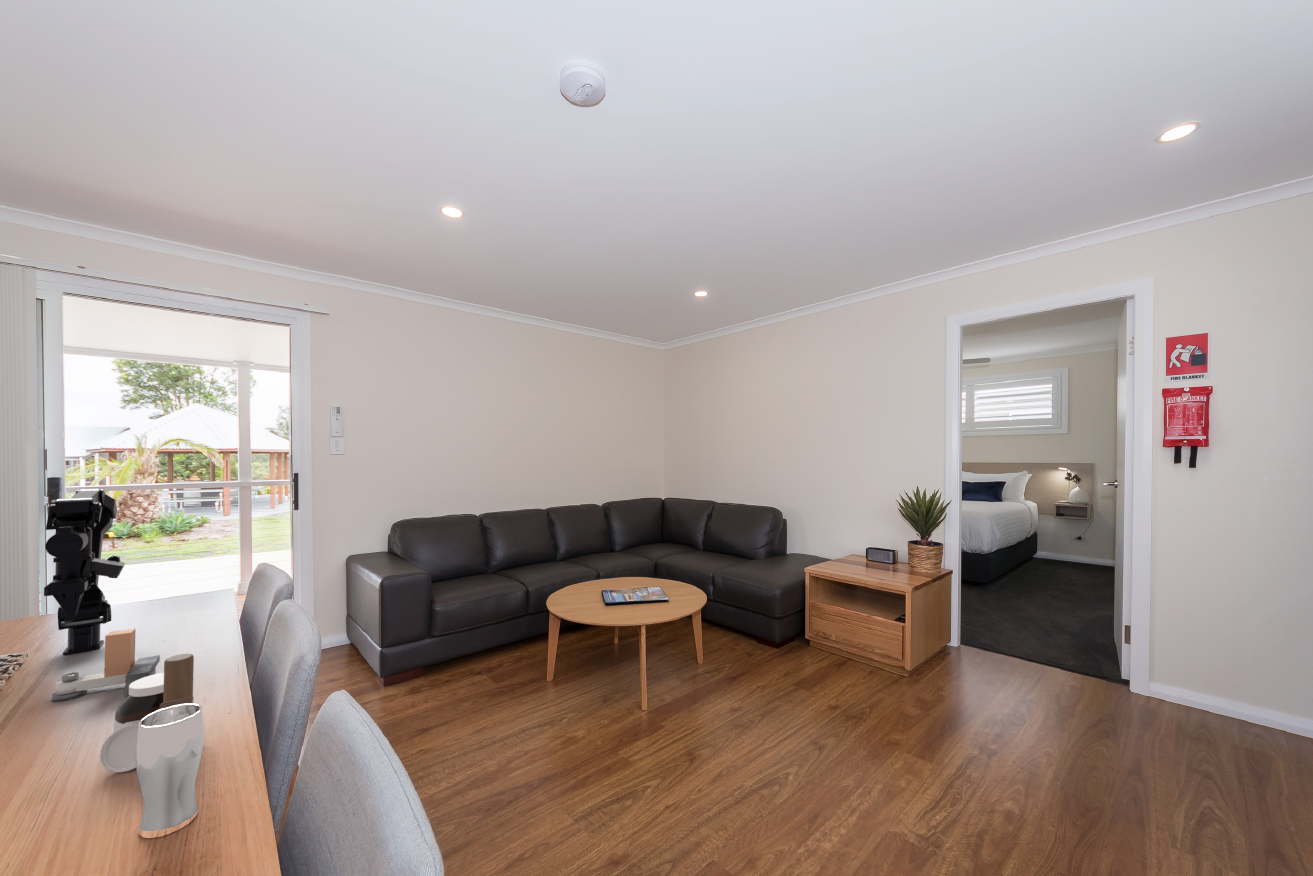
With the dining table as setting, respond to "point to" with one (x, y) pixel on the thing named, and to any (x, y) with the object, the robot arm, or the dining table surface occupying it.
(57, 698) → the pintle plate
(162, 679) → the spread jar
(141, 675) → the dark grey block
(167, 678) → the wooden block
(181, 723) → the beer glass
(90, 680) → the link
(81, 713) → the dining table surface
